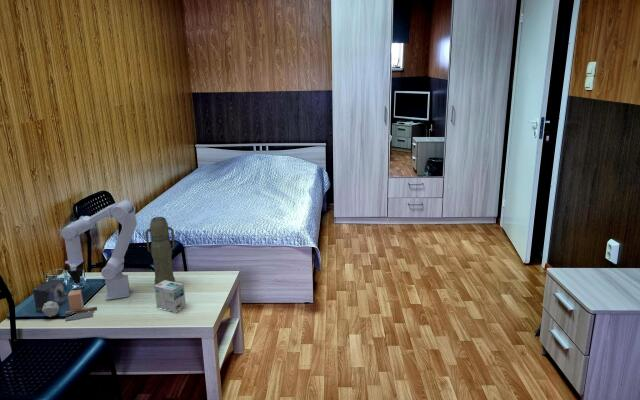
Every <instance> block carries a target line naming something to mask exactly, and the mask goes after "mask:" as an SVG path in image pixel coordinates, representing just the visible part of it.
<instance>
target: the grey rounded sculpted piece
mask: <svg viewBox="0 0 640 400" xmlns="http://www.w3.org/2000/svg"><path fill="white" fill-rule="evenodd" d="M59 310H60V306H59V305H58V304H57V303H56V302H52V301H48V302H47V303H45V304H44V306H43V308H42V311H43V312H42V313H43V315H45V316H47V317H49V318H52V316H53V317H55V316H57V314H59Z"/></svg>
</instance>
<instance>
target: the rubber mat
mask: <svg viewBox="0 0 640 400" xmlns="http://www.w3.org/2000/svg"><path fill="white" fill-rule="evenodd" d="M93 313H95V311H90V312H84V313H77V314H74V315H72V314H71V315H72V316H69V317H67V316H66V317H65V322H70V321H75V320H83V319H84V320H85V319H89V318H94V314H93Z"/></svg>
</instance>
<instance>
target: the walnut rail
mask: <svg viewBox="0 0 640 400" xmlns="http://www.w3.org/2000/svg"><path fill="white" fill-rule="evenodd" d="M95 310H97V311H98V306H93V307H92V306H91V307H86V308H83V309H78V310H71V311H70V310H66V311H65V312H64V315H65V314H68V313H72V312H76V313H77V314H78V313H82V312H84V313H85V312H88V311H90V312H91V311H94V312H95Z"/></svg>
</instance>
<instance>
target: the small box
mask: <svg viewBox="0 0 640 400" xmlns="http://www.w3.org/2000/svg"><path fill="white" fill-rule="evenodd" d="M32 292H33V298H34V303H35V304H34V305H35V311H36V312H38V311H39V313H44V312H43V311H42V308H43V306H44V304H45V303H47V302H48V301H52V302H56V303H57V304H58V305H60V306H62V303H63V304H64V303H66V302H67V300H66V293H65V287H64V281H63V280H60V279H49V280H48V281H45V282H43V283H41V284H39V285H38V286H36V287H35V288H32Z"/></svg>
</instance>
